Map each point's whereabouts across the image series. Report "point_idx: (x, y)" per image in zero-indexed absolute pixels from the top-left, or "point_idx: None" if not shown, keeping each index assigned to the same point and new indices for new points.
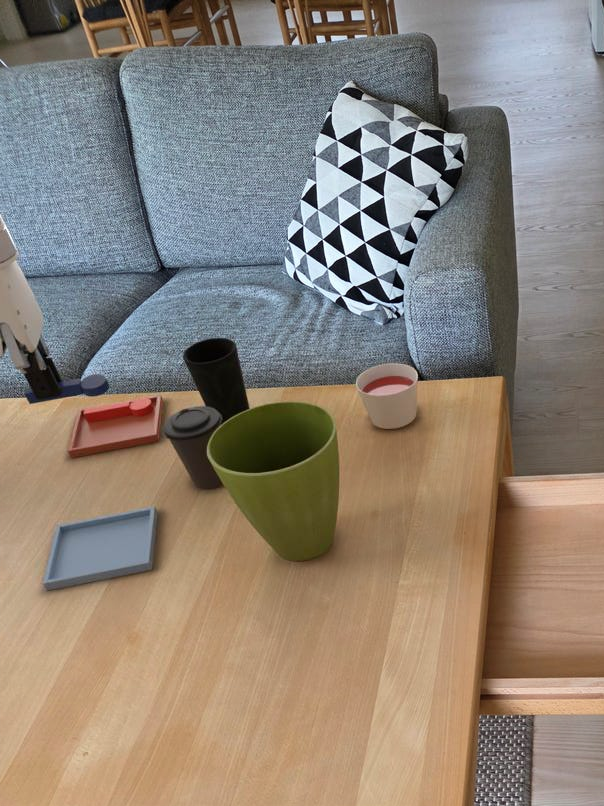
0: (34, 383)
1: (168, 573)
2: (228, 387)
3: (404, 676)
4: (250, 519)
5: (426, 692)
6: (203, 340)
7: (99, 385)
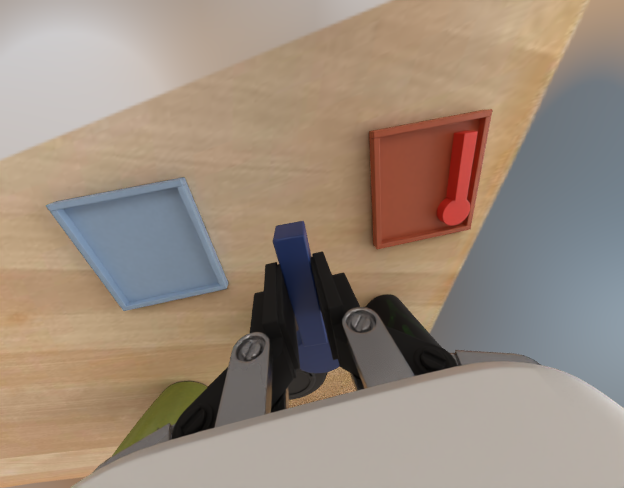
0: (252, 318)
1: (127, 318)
2: None
3: (58, 460)
4: (118, 447)
5: (49, 469)
6: None
7: (301, 369)
